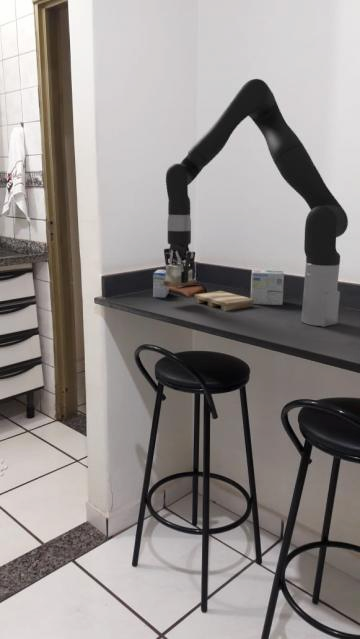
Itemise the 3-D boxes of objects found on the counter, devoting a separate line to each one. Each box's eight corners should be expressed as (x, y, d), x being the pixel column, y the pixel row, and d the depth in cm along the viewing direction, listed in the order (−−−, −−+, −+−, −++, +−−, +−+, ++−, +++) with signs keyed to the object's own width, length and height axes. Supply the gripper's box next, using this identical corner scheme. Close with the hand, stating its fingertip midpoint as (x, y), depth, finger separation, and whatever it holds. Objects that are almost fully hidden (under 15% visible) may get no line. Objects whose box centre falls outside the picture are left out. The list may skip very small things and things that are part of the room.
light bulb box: (281, 301, 177) (283, 270, 174) (282, 305, 171) (285, 273, 168) (249, 300, 178) (251, 269, 175) (250, 304, 172) (252, 272, 169)
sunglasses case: (158, 289, 193) (166, 273, 194) (171, 296, 198) (178, 281, 198) (189, 297, 179) (197, 280, 180) (202, 305, 184) (209, 288, 185)
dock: (253, 306, 168) (253, 299, 167) (226, 311, 161) (226, 303, 160) (220, 297, 180) (221, 290, 180) (194, 301, 173) (194, 294, 173)
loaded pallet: (194, 284, 169) (194, 264, 168) (173, 287, 164) (173, 267, 162) (184, 282, 173) (184, 263, 171) (163, 285, 168) (163, 265, 166)
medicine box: (156, 292, 187) (157, 269, 185) (169, 293, 186) (169, 269, 184) (152, 297, 179) (152, 272, 177) (165, 297, 179) (165, 273, 177)
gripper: (202, 230, 161) (201, 283, 165) (175, 227, 172) (174, 277, 176) (183, 231, 156) (183, 286, 160) (156, 228, 167) (156, 279, 171)
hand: (179, 281), depth 168 cm, fingers closed on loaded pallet, 5 cm apart
